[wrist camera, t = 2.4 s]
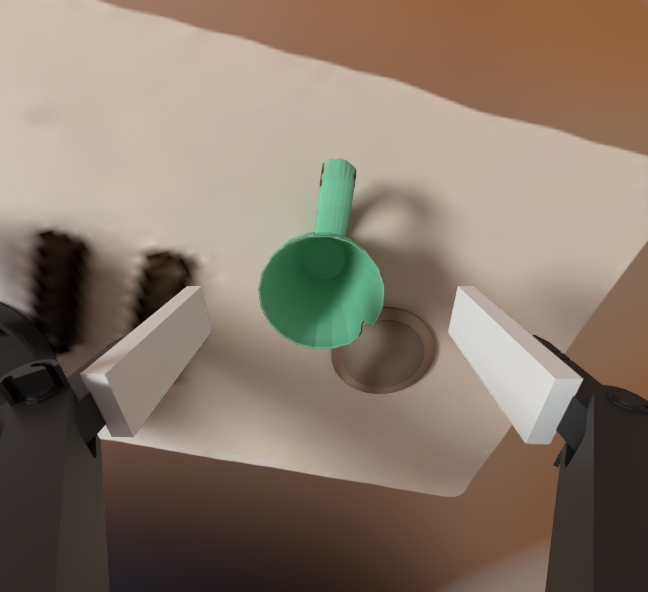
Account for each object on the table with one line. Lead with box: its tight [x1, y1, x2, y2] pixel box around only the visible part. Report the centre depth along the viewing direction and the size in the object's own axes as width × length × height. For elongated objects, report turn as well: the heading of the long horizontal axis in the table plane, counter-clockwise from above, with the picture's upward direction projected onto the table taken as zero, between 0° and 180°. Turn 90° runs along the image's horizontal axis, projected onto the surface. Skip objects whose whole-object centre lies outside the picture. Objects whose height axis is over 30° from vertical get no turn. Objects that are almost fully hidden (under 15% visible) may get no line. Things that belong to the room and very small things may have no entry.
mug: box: [258, 159, 385, 349], centre depth 24 cm, size 15×10×10 cm
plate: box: [332, 307, 435, 394], centre depth 35 cm, size 13×13×1 cm
